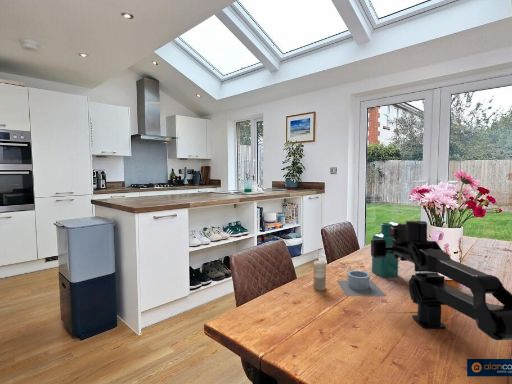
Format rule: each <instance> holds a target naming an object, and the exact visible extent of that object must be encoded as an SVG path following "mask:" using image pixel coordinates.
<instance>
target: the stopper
mask: <svg viewBox="0 0 512 384" xmlns="http://www.w3.org/2000/svg"><path fill="white" fill-rule="evenodd" d="M326 265H327V262H326V261H325V260H314V261H313V289H314V290H319V291H323V290H326V287H327V285H326V281H327V280H326V279H327V277H326V275H327V268H326V267H327V266H326Z"/></svg>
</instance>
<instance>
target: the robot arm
mask: <svg viewBox="0 0 512 384" xmlns="http://www.w3.org/2000/svg"><path fill="white" fill-rule="evenodd" d="M389 235H390V237H393V238H394V239H395V240H392V243H393V246H392V247H386V242H385V240H384V239H373V238H371V240H370V256H371V258H372V257H374V258H385V256H386V254H394V258H399V260H400V261H401V262H407V261H408V262H410V263H413V265H414V272H415V271H416V272H420V271H428V272H435V273H414V274H412V275H411V277H410V278H409V280H408V288H409V289H408V290H409V296H410V299H411V301H412V303H414V304H416V305H417V311H416V312H417V315H416V314H412V315H411V316H412V319H413V320H415V321H416V322H417V324H419V325H420V327H422V328H423V329H447V326H446V325H445V323H443V322H442V321H441V320H442V306H444V305H445V306H448V307H450V308H451V309H453V310H455V311H458V312H459V313H461V314H463V315H465V316H466V317H469V318H470V319H472V320H473V321H475V323H476V326H477V328H478V329H479V330H480V331H482V332H483V333H484V334H485V335H486V336H488V337H489V338H490V339H492V340H494V341H512V293H511V292H510V291H509V290H508V289H507V288H506V287H505V286H504V284H503V283H502V281H501V280H500V279H499V277H497V276H495V275H492V274H487V273H485V272H482V271H480V270H478V269H475V268H472V267H470V266H468V265H466V264H463V263H461V262H458V261H456V260H454V259H452V258H451V255H450V254H448V253H447V252H445V250H443V249H442V248H441V246H440V245H439V243H438V242H437V241H436V240H433V241H432V240H429V239H428V222H427V221H425V220H423V221H421V220H405V223H401V224H398V225H392V226H391V228H389ZM386 250H391V251H386ZM415 274H416V275H415ZM440 274H441V275H440ZM445 277H447V278H448V279H449V280H452V281H454V282H455V283H458V284H460V285H462V286H463V287H464V286H465V287H466V288H468V289H469V290H470V292H471V293H472V295H470V294H467V293H466V292H463V291H460V290H458V289H456V288H454V287H452V286H449V285H447V283H446V281H445ZM487 294H489V295H490V294H491V295H492V296H493V298H495V299H496V300H497V301H498V302H499V303H500V304H493V303H488V302H486V301H487V300H486V298H487ZM501 304H502V305H501Z"/></svg>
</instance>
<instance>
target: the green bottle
mask: <svg viewBox="0 0 512 384" xmlns="http://www.w3.org/2000/svg"><path fill="white" fill-rule="evenodd" d="M398 224H402V223H400V222H395V221H390V222H381V223H379V226H380V227H381V230H380V232H379V233H375V234H373V235H372V239H384V240H385V242H386V247H392V246H393V243H392V240H395V239H394V238H393V237H390V235H389V228H391V226H392V225H398ZM386 251H391V250H386ZM399 260H400V258H394V254H386V256H385V258H374V257H372V256H371V272H372V273H373V274H375V275H377V276H379V277H380V278H381V277H382V278H392V277H397V276H398V275H399Z"/></svg>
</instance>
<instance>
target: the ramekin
mask: <svg viewBox="0 0 512 384" xmlns="http://www.w3.org/2000/svg"><path fill="white" fill-rule="evenodd" d="M346 281H347V285H348V286H349V287H350V288H353V289H357V290H366V289H369V287H370V281H371V275H370V273H368V272H366V271H363V270H350V271H347V278H346Z"/></svg>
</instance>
